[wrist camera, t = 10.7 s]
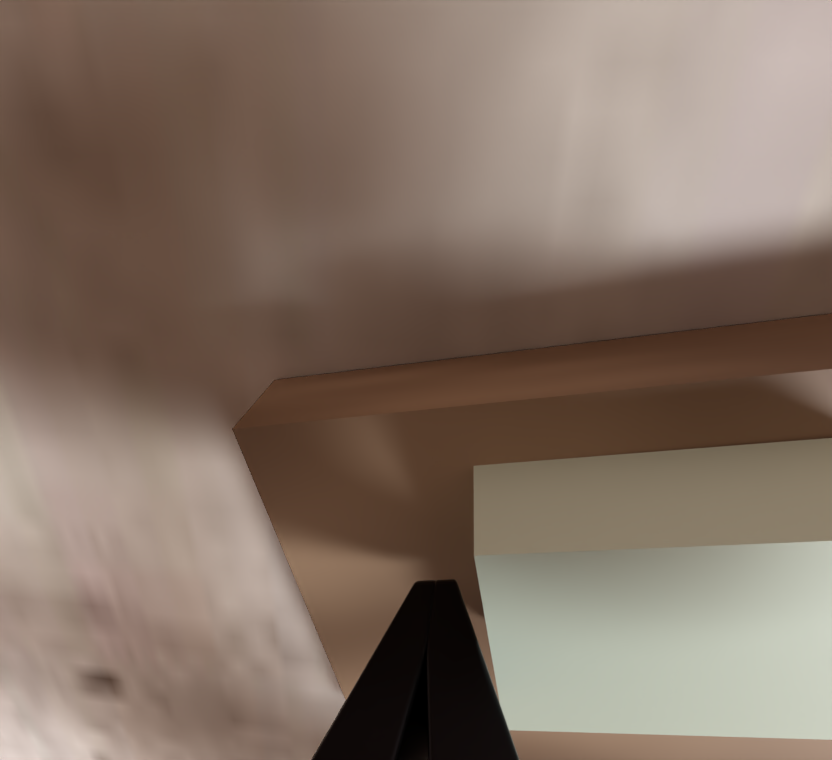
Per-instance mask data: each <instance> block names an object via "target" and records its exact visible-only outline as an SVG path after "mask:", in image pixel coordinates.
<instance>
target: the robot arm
mask: <svg viewBox="0 0 832 760" xmlns="http://www.w3.org/2000/svg"><path fill="white" fill-rule="evenodd" d="M312 760H519V757H518V754H517V751H516V748H515V746H514V743H513V740H512V737H511V734H510V731H509V728H508V726H507V723H506V720H505V717H504V714H503V711H502V708H501V706H500V703H499V700H498V697H497V694H496V691H495V688H494V686H493V683H492V680H491V677H490V674H489V671H488V668H487V666H486V663H485V660H484V657H483V654H482V651H481V648H480V646H479V643H478V640H477V637H476V634H475V631H474V628H473V626H472V623H471V620H470V617H469V614H468V611H467V608H466V606H465V603H464V600H463V597H462V594H461V591H460V588H459V586H458V583H457V581H456V580H455V579H445V580H437V581H435V580H422V581H416V582H415V583H414V584H413V586H412V587H411V589H410V591H409V593H408V594H407V596H406V598H405V600H404V601H403V603H402V605H401V606H400V608H399V610H398V612H397V613H396V615H395V617H394V618H393V620H392V622H391V624H390V625H389V627H388V629H387V630H386V632H385V634H384V636H383V637H382V639H381V641H380V643H379V644H378V646H377V648H376V649H375V651H374V653H373V655H372V656H371V658H370V660H369V661H368V663H367V665H366V667H365V668H364V670H363V672H362V673H361V675H360V677H359V679H358V680H357V682H356V684H355V686H354V687H353V689H352V691H351V692H350V694H349V696H348V698H347V699H346V701H345V703H344V704H343V706H342V708H341V710H340V711H339V713H338V715H337V717H336V718H335V720H334V722H333V723H332V725H331V727H330V729H329V730H328V732H327V734H326V735H325V737H324V739H323V741H322V742H321V744H320V746H319V747H318V749H317V751H316V753H315V754H314V756H313V758H312Z"/></svg>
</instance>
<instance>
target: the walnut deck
mask: <svg viewBox="0 0 832 760" xmlns="http://www.w3.org/2000/svg"><path fill="white" fill-rule="evenodd" d="M233 432H234V434H235V437H236V439H237V441H238V444H239V446H240V449H241V451H242V453H243V456H244V458H245V460H246V463H247V465H248V468H249V470H250V472H251V475H252V477H253V480H254V482H255V484H256V487H257V489H258V492H259V494H260V496H261V499H262V501H263V503H264V506H265V508H266V511H267V513H268V515H269V518H270V520H271V523H272V525H273V527H274V530H275V532H276V535H277V537H278V539H279V542H280V544H281V546H282V549H283V551H284V554H285V556H286V558H287V561H288V563H289V566H290V568H291V570H292V573H293V575H294V577H295V580H296V582H297V585H298V587H299V589H300V592H301V594H302V597H303V599H304V601H305V604H306V606H307V609H308V611H309V613H310V616H311V618H312V620H313V623H314V625H315V628H316V630H317V632H318V635H319V637H320V640H321V642H322V644H323V647H324V649H325V652H326V654H327V656H328V659H329V661H330V663H331V666H332V668H333V671H334V673H335V675H336V678H337V680H338V683H339V685H340V687H341V690H342V692H343V695H344V697H345V699H347V698H348V696H349V694H350V692H351V691H352V689H353V687H354V686H355V684H356V682H357V680H358V679H359V677H360V675H361V673H362V672H363V670H364V668H365V667H366V665H367V663H368V661H369V660H370V658H371V656H372V655H373V653H374V651H375V649H376V648H377V646H378V644H379V643H380V641H381V639H382V637H383V636H384V634H385V632H386V630H387V629H388V627H389V625H390V624H391V622H392V620H393V618H394V617H395V615H396V613H397V612H398V610H399V608H400V606H401V605H402V603H403V601H404V600H405V598H406V596H407V594H408V593H409V591H410V589H411V587H412V586H413V584H414V583H415V582H416V581H422V580H435V581H437V580H445V579H455V580H456V581H457V583H458V586H459V588H460V591H461V594H462V597H463V600H464V603H465V606H466V608H467V611H468V614H469V617H470V620H471V623H472V626H473V628H474V631H475V634H476V637H477V640H478V643H479V646H480V648H481V651H482V654H483V657H484V660H485V663H486V666H487V668H488V671H489V674H490V677H491V680H492V683H493V686H494V688H495V691H496V694H497V697H498V700H499V696H498V690H497V684H496V679H495V673H494V667H493V662H492V656H491V650H490V644H489V639H488V633H487V627H486V622H485V616H484V610H483V604H482V599H481V593H480V587H479V582H478V576H477V570H476V564H475V559H474V466H477V465H489V464H502V463H515V462H528V461H541V460H554V459H566V458H579V457H592V456H605V455H618V454H631V453H644V452H656V451H669V450H682V449H695V448H708V447H721V446H733V445H746V444H759V443H772V442H785V441H798V440H811V439H823V438H832V314H824V315H816V316H807V317H799V318H791V319H782V320H774V321H765V322H757V323H749V324H740V325H732V326H723V327H715V328H707V329H698V330H690V331H681V332H673V333H665V334H656V335H648V336H639V337H631V338H623V339H614V340H606V341H597V342H589V343H581V344H572V345H564V346H555V347H547V348H539V349H530V350H522V351H514V352H505V353H497V354H488V355H480V356H472V357H463V358H455V359H446V360H438V361H430V362H421V363H413V364H404V365H396V366H388V367H379V368H371V369H362V370H354V371H346V372H337V373H329V374H320V375H312V376H304V377H295V378H287V379H278V380H274V381H273V383H272V384H271V385H270V386H269V387H268V388H267V390H266V391H265V392H264V393H263V394H262V395H261V396H260V398H259V399H258V400H257V401H256V402H255V403H254V405H253V406H252V407H251V408H250V409H249V410H248V411H247V413H246V414H245V415H244V416H243V417H242V418H241V420H240V421H239V422H238V423H237V424H236V425H235V427H234V428H233ZM499 703H500V702H499ZM509 731H510V734H511V737H512V740H513V743H514V746H515V748H516V751H517V754H518V757H519V760H832V740H821V739H787V738H753V737H719V736H685V735H651V734H617V733H584V732H550V731H516V730H509Z"/></svg>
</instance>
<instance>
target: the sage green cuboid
mask: <svg viewBox="0 0 832 760" xmlns="http://www.w3.org/2000/svg"><path fill="white" fill-rule="evenodd" d="M474 559H475V564H476V570H477V576H478V582H479V587H480V593H481V599H482V604H483V610H484V616H485V622H486V627H487V633H488V639H489V644H490V650H491V656H492V662H493V667H494V673H495V679H496V684H497V690H498V696H499V702H500V706H501V708H502V711H503V714H504V717H505V720H506V723H507V726H508V728H509V730H516V731H550V732H584V733H617V734H651V735H685V736H719V737H753V738H787V739H821V740H832V438H823V439H811V440H798V441H785V442H772V443H759V444H746V445H733V446H721V447H708V448H695V449H682V450H669V451H656V452H644V453H631V454H618V455H605V456H592V457H579V458H566V459H554V460H541V461H528V462H515V463H502V464H489V465H477V466H474Z"/></svg>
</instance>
